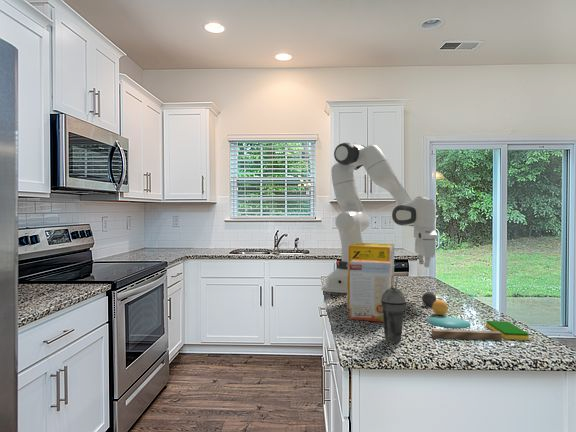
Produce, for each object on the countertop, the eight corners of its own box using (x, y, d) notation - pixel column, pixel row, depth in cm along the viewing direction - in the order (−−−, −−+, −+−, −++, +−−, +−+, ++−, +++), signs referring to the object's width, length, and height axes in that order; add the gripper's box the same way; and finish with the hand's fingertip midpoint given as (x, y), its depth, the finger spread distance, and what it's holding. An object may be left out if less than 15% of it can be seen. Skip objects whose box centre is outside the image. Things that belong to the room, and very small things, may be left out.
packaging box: (355, 299, 173) (355, 242, 173) (393, 303, 167) (394, 244, 167) (347, 308, 158) (347, 245, 158) (388, 312, 152) (389, 247, 152)
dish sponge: (504, 340, 121) (505, 332, 121) (485, 327, 135) (486, 320, 135) (529, 341, 120) (529, 333, 120) (507, 328, 134) (507, 321, 134)
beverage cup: (377, 336, 122) (378, 271, 122) (400, 336, 123) (401, 271, 122) (385, 344, 115) (385, 275, 115) (409, 344, 115) (410, 275, 115)
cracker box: (390, 319, 143) (391, 260, 142) (389, 323, 137) (390, 262, 137) (351, 315, 147) (352, 259, 147) (348, 319, 141) (349, 260, 141)
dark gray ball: (423, 306, 161) (424, 293, 161) (420, 303, 167) (420, 290, 167) (437, 307, 161) (438, 293, 161) (433, 304, 166) (434, 291, 166)
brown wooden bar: (433, 337, 122) (433, 331, 122) (431, 335, 124) (431, 329, 124) (501, 339, 120) (501, 333, 120) (498, 337, 122) (498, 331, 122)
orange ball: (434, 316, 146) (434, 301, 146) (430, 312, 152) (430, 298, 152) (449, 317, 146) (450, 302, 146) (445, 313, 151) (445, 298, 151)
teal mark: (433, 327, 132) (433, 326, 132) (422, 316, 146) (422, 315, 146) (477, 328, 131) (477, 328, 131) (462, 317, 145) (462, 317, 145)
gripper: (411, 232, 183) (411, 262, 184) (422, 235, 163) (422, 268, 163) (425, 232, 183) (425, 262, 183) (438, 235, 162) (438, 269, 163)
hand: (423, 265), depth 173 cm, fingers open, 8 cm apart
